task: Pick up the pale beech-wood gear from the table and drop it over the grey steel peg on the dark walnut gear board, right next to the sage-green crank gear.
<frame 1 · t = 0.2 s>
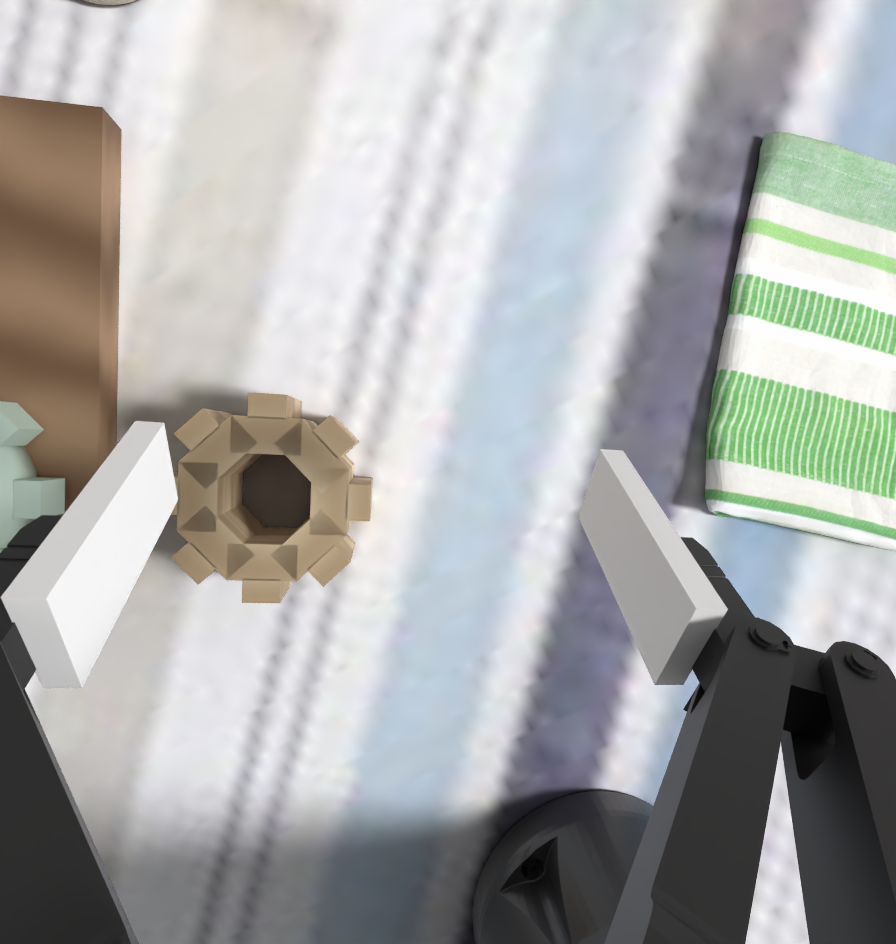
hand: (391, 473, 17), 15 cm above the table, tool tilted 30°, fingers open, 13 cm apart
beech gear: (282, 489, 32), on the table
dish towel: (837, 358, 36), on the table
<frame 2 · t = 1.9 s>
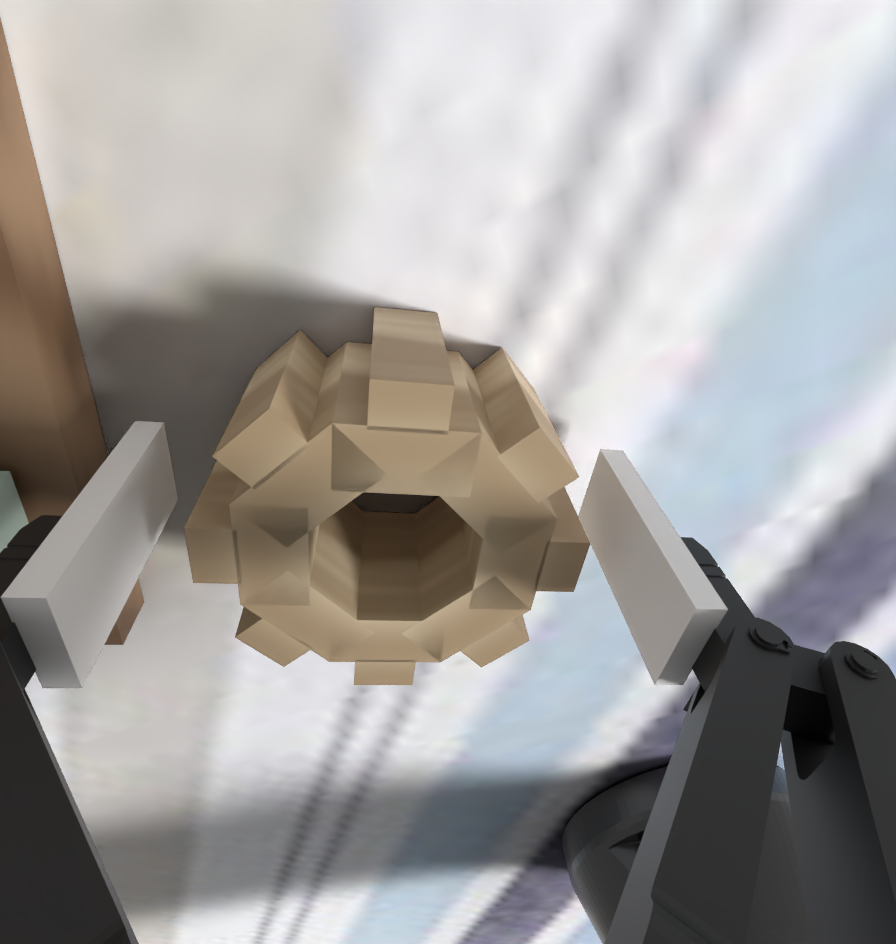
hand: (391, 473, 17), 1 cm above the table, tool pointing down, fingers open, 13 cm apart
beech gear: (393, 460, 18), on the table
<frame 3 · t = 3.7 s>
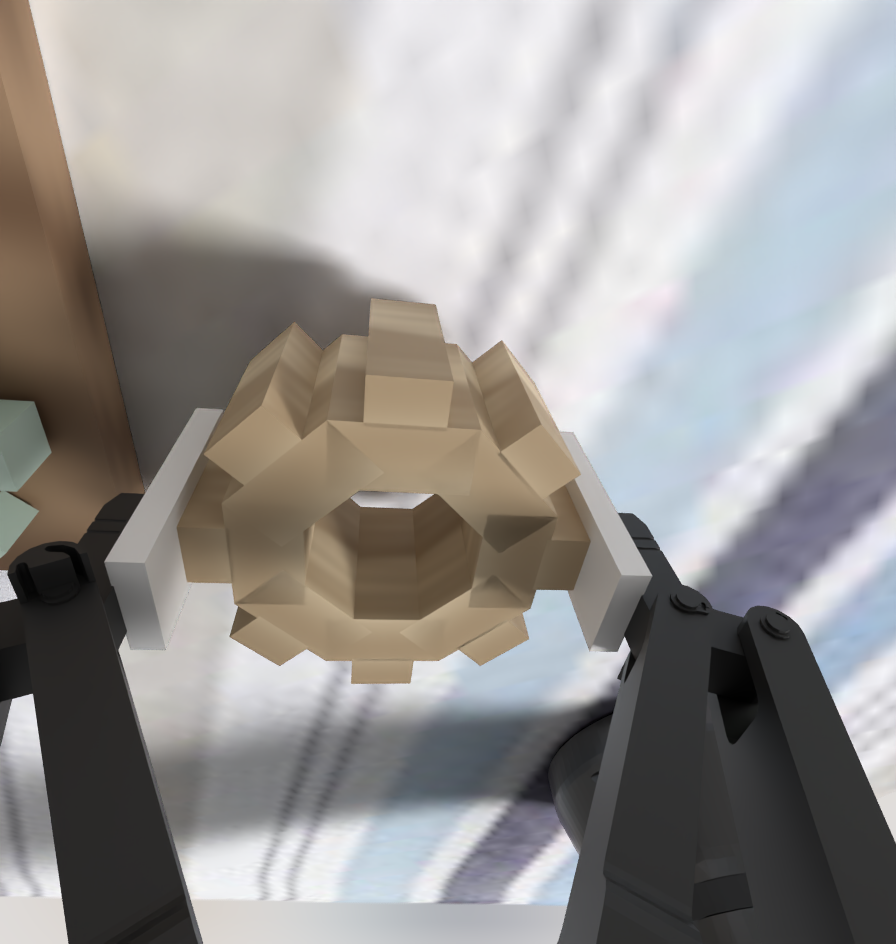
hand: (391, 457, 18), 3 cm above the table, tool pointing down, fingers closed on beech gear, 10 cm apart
beech gear: (390, 455, 18), point 3 cm above the table, touching gripper
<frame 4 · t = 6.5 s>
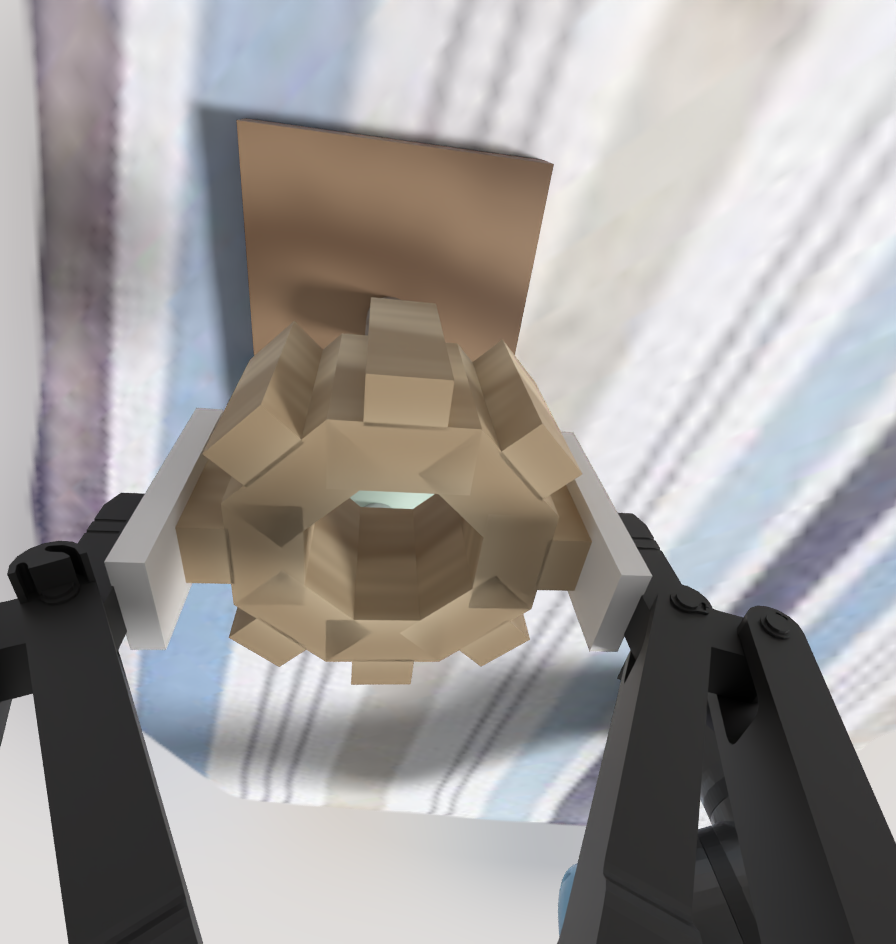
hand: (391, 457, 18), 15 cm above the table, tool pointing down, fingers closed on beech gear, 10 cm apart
beech gear: (391, 455, 18), point 15 cm above the table, touching gripper
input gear: (377, 523, 33), point 5 cm above the table, hinge at 0.0°
gear board: (384, 389, 33), on the table
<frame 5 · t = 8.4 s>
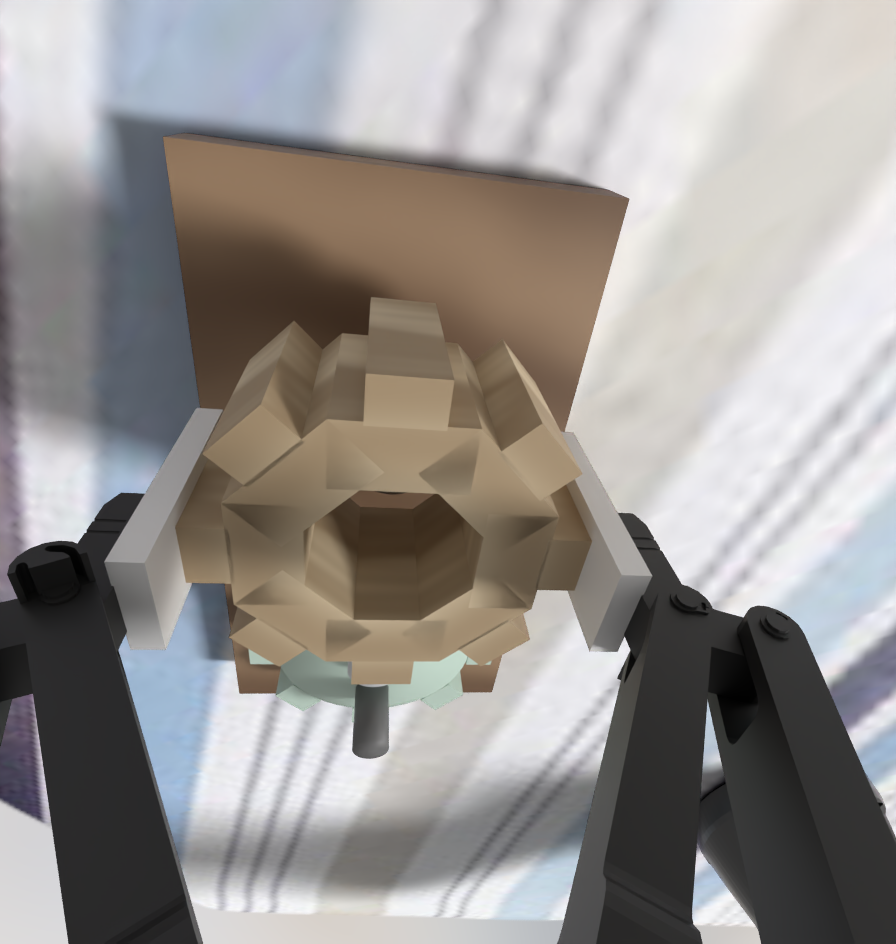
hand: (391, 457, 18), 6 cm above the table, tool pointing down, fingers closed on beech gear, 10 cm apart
beech gear: (391, 455, 18), point 5 cm above the table, touching gripper
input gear: (374, 661, 25), point 5 cm above the table, hinge at 0.0°
gear board: (384, 483, 25), on the table
when the fingers open (3 cm above the table, at t = 9.6 s): beech gear drops 1 cm, resting on gear board.
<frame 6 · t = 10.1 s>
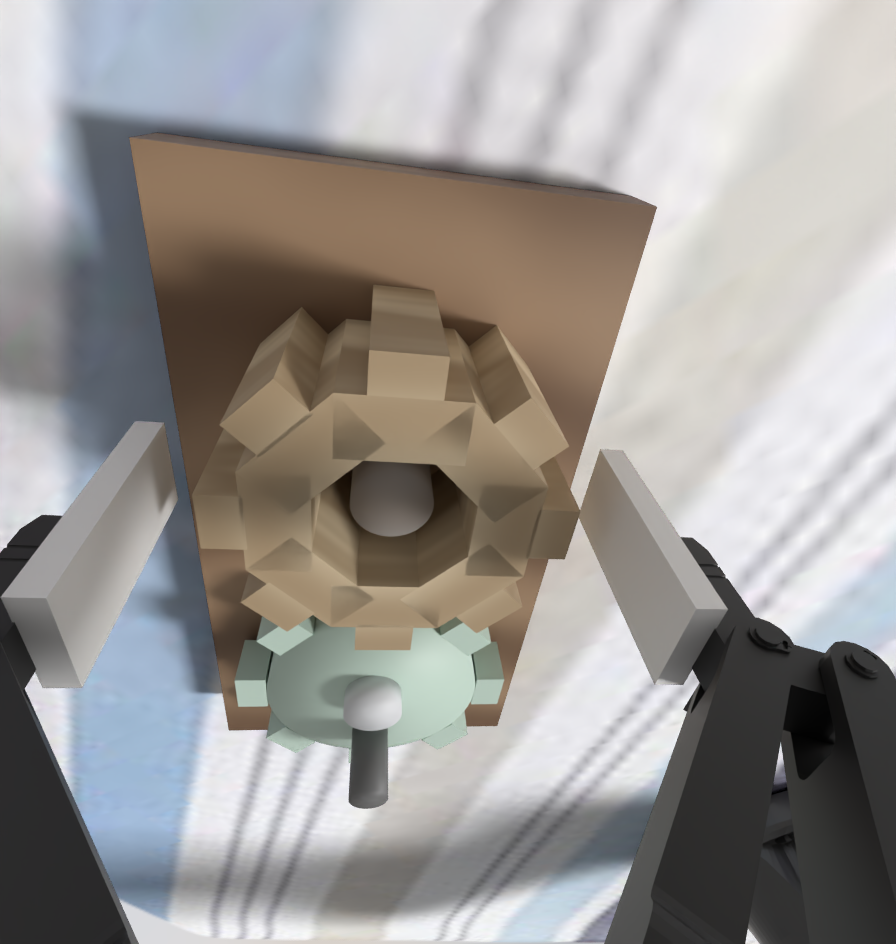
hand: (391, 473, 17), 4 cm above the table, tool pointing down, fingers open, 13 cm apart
beech gear: (392, 435, 19), point 2 cm above the table, touching gear board
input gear: (372, 703, 23), point 5 cm above the table, hinge at 0.0°
gear board: (382, 511, 23), on the table
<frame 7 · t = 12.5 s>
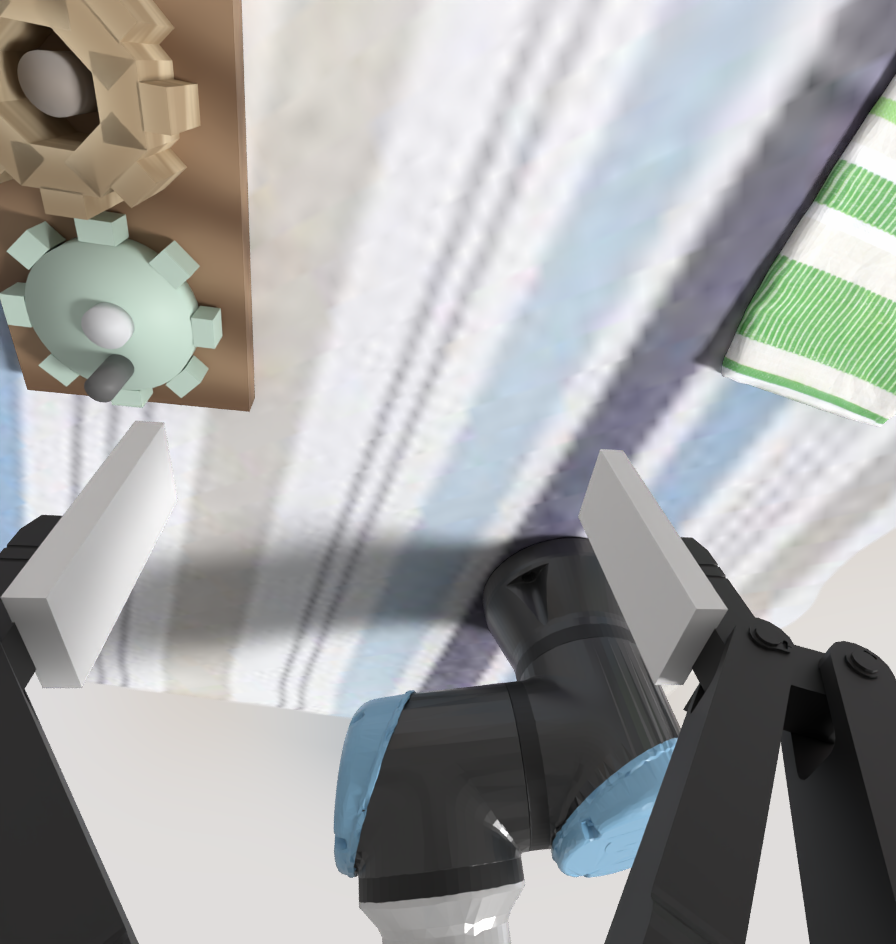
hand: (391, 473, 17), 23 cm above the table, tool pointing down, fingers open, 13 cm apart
beech gear: (89, 84, 27), point 2 cm above the table, touching gear board
dish towel: (893, 250, 39), on the table
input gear: (108, 325, 32), point 5 cm above the table, hinge at 0.0°
gear board: (121, 186, 32), on the table
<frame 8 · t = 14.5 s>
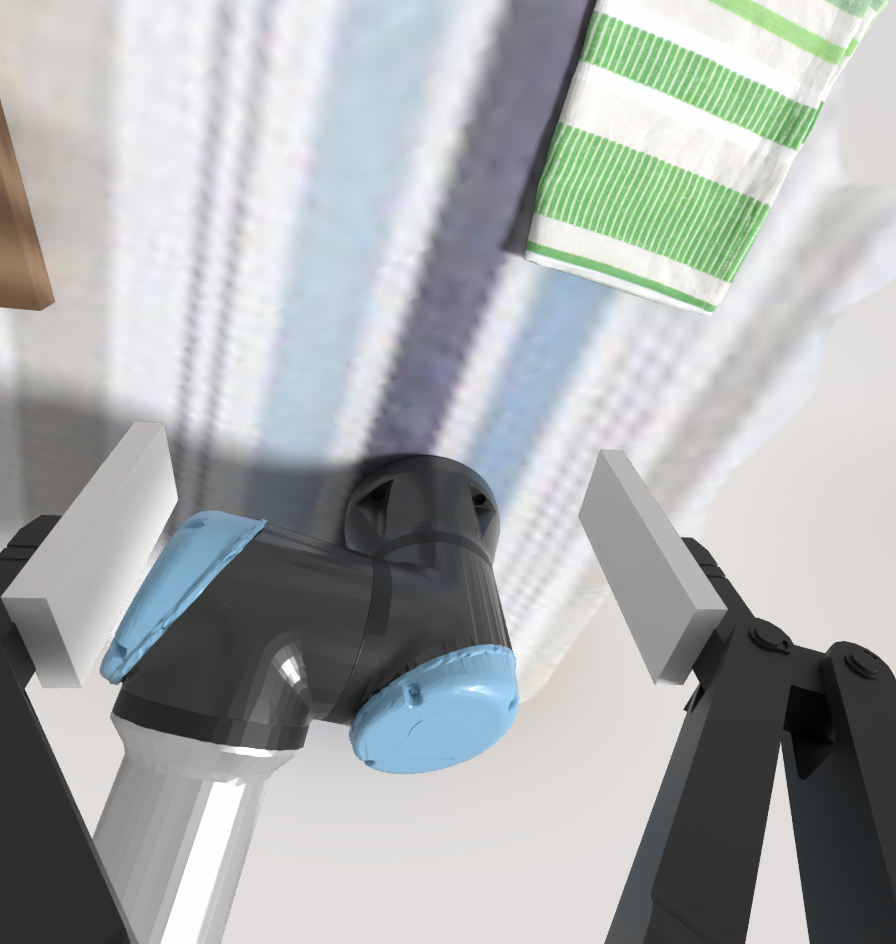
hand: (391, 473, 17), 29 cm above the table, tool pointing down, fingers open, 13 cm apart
dish towel: (684, 118, 38), on the table
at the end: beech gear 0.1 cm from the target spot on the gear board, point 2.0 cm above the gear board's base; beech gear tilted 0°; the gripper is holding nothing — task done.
